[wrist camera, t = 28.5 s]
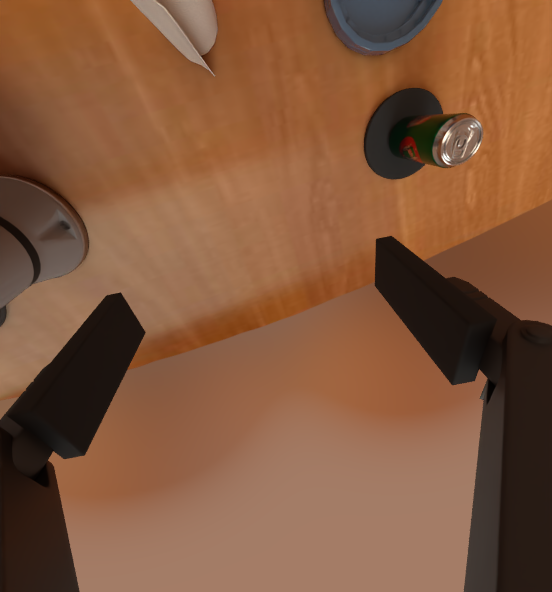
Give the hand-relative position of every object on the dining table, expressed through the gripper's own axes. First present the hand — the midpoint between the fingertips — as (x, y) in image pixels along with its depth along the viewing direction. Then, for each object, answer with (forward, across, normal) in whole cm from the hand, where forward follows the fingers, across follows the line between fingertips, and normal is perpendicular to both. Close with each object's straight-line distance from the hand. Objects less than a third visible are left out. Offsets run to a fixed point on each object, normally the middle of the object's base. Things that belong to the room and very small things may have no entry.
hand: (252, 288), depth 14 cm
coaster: (+31, +23, +1) cm, 38 cm away
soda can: (+30, +23, +1) cm, 38 cm away
